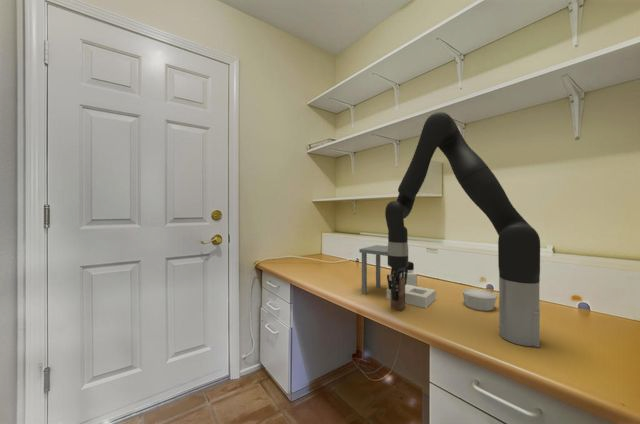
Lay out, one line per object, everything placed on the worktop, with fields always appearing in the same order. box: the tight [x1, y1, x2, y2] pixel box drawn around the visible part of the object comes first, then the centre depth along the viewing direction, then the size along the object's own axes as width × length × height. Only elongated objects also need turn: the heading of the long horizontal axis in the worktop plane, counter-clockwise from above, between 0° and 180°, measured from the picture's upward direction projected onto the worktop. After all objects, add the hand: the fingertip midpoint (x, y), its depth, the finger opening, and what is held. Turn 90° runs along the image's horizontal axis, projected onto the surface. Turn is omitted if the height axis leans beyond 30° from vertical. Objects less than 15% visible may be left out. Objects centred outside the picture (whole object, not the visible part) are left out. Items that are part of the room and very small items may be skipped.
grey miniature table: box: [358, 244, 388, 296], centre depth 115 cm, size 14×16×20 cm
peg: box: [390, 277, 406, 312], centre depth 96 cm, size 4×4×12 cm
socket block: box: [386, 284, 437, 309], centre depth 106 cm, size 16×12×4 cm
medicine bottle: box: [405, 260, 418, 287], centre depth 123 cm, size 7×7×12 cm
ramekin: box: [461, 288, 498, 312], centre depth 98 cm, size 11×11×5 cm
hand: (397, 298), depth 96 cm, fingers open, 4 cm apart
